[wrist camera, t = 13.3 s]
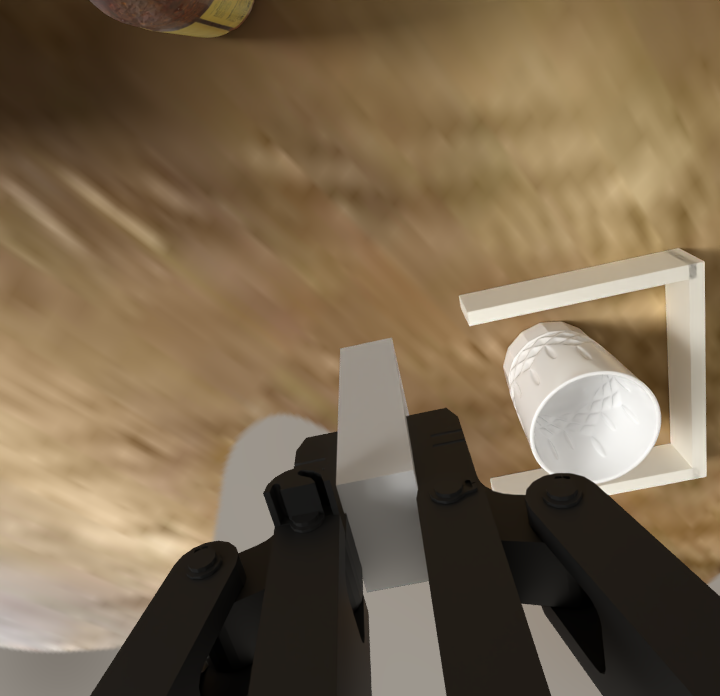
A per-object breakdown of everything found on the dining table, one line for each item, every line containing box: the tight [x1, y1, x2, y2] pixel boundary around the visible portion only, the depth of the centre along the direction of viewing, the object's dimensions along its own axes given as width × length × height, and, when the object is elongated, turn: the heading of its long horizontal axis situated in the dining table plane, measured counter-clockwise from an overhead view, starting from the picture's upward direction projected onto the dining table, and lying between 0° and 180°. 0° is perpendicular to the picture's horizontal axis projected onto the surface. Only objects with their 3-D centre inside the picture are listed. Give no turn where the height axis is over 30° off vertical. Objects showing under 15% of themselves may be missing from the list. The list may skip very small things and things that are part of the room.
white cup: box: [503, 321, 661, 484], centre depth 43 cm, size 8×8×10 cm
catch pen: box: [459, 248, 706, 495], centre depth 46 cm, size 16×17×4 cm
